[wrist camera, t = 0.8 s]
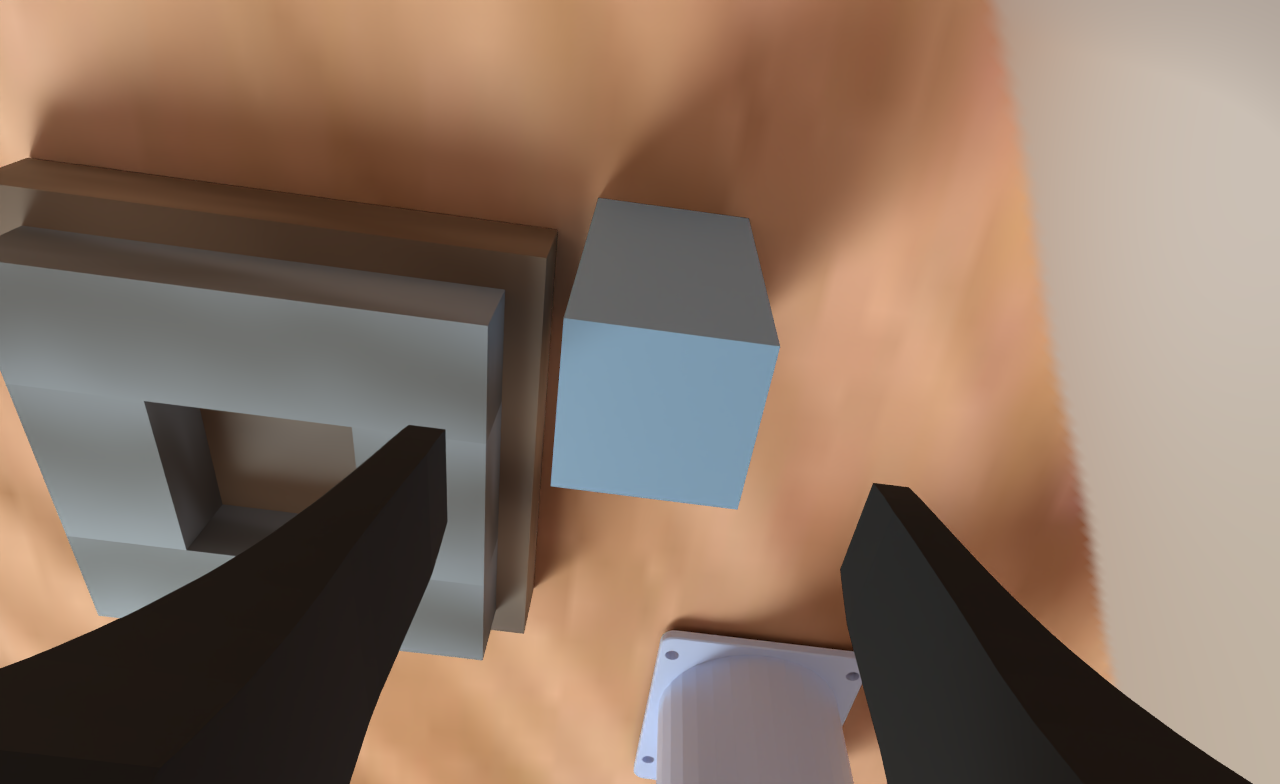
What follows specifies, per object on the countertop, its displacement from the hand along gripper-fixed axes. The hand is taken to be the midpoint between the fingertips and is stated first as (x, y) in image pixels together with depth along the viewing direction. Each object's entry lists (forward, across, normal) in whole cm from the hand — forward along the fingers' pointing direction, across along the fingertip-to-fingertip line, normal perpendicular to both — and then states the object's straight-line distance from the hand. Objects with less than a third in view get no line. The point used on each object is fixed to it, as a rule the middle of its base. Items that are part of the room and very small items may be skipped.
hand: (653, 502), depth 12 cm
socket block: (+9, +10, +6) cm, 15 cm away
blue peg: (+9, 0, 0) cm, 9 cm away
